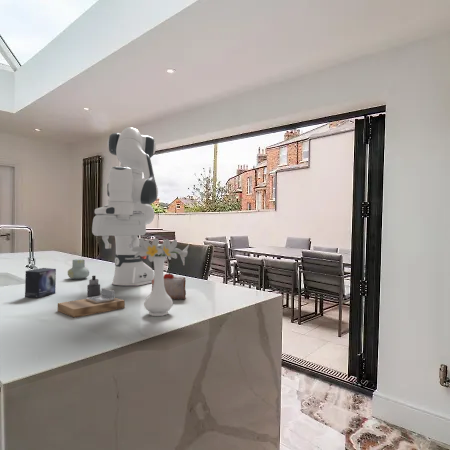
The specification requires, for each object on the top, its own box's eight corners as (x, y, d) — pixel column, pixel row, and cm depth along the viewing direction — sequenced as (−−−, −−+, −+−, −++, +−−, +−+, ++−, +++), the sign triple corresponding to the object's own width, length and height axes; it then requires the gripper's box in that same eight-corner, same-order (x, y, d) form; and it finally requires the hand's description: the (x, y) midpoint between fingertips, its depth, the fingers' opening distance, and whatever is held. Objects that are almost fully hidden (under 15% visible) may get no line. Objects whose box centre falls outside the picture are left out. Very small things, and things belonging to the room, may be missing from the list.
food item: (149, 300, 139) (150, 275, 139) (152, 296, 147) (152, 272, 147) (185, 300, 140) (185, 275, 140) (186, 296, 148) (186, 272, 148)
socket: (106, 302, 135) (106, 295, 135) (124, 307, 127) (124, 300, 127) (57, 310, 121) (57, 303, 121) (74, 317, 113) (74, 309, 113)
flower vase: (192, 316, 116) (193, 238, 116) (133, 321, 110) (134, 238, 110) (183, 307, 129) (184, 236, 128) (130, 310, 123) (130, 236, 122)
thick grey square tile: (104, 297, 131) (104, 288, 131) (114, 300, 126) (114, 290, 126) (85, 300, 126) (85, 290, 126) (95, 303, 121) (95, 293, 121)
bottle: (96, 299, 141) (96, 274, 140) (102, 300, 137) (102, 275, 137) (85, 300, 137) (85, 275, 137) (91, 302, 134) (91, 277, 134)
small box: (38, 298, 140) (38, 271, 140) (24, 297, 142) (24, 270, 141) (56, 293, 151) (56, 268, 151) (42, 292, 152) (42, 267, 152)
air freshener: (65, 278, 189) (66, 259, 189) (81, 276, 195) (81, 258, 195) (75, 280, 182) (75, 260, 182) (91, 279, 188) (91, 259, 188)
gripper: (140, 211, 142) (139, 246, 142) (90, 209, 127) (89, 248, 127) (149, 211, 138) (149, 247, 138) (98, 208, 123) (98, 249, 123)
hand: (120, 248), depth 132 cm, fingers open, 8 cm apart
